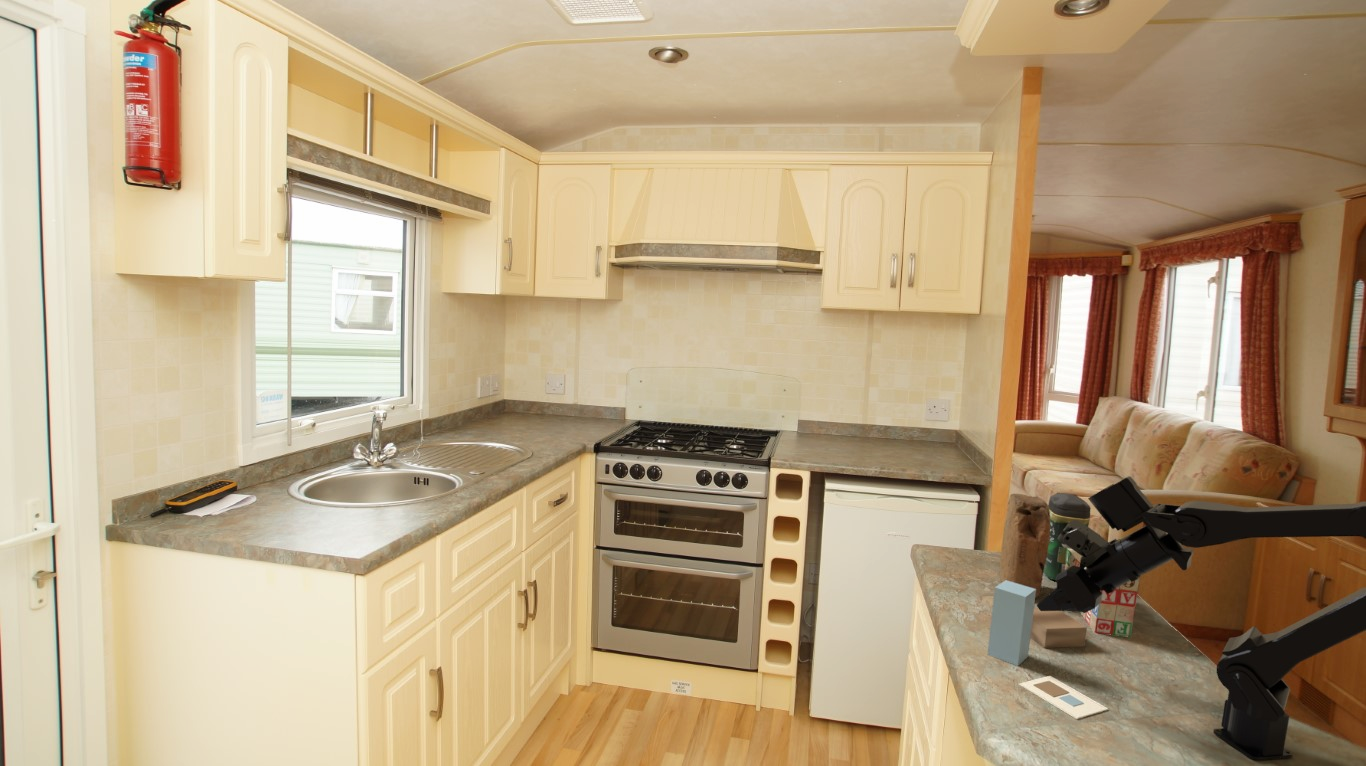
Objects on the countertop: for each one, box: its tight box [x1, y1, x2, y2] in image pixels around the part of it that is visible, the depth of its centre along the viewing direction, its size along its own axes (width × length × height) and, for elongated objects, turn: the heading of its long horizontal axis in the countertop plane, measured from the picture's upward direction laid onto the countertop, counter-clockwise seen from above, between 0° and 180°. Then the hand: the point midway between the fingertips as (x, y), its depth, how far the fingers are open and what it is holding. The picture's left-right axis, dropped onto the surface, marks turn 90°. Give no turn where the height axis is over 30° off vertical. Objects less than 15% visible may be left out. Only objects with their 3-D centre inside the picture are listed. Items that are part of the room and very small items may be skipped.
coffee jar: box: [1043, 492, 1092, 581], centre depth 162 cm, size 10×8×19 cm
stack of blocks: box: [1065, 548, 1141, 638], centre depth 144 cm, size 21×6×12 cm, turn 168°
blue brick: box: [987, 580, 1036, 666], centre depth 124 cm, size 5×5×12 cm
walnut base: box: [1030, 608, 1088, 649], centre depth 133 cm, size 8×8×4 cm
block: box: [999, 493, 1051, 599], centre depth 153 cm, size 11×8×20 cm
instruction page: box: [1019, 675, 1109, 720], centre depth 112 cm, size 10×7×1 cm
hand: (1048, 600), depth 120 cm, fingers open, 9 cm apart
